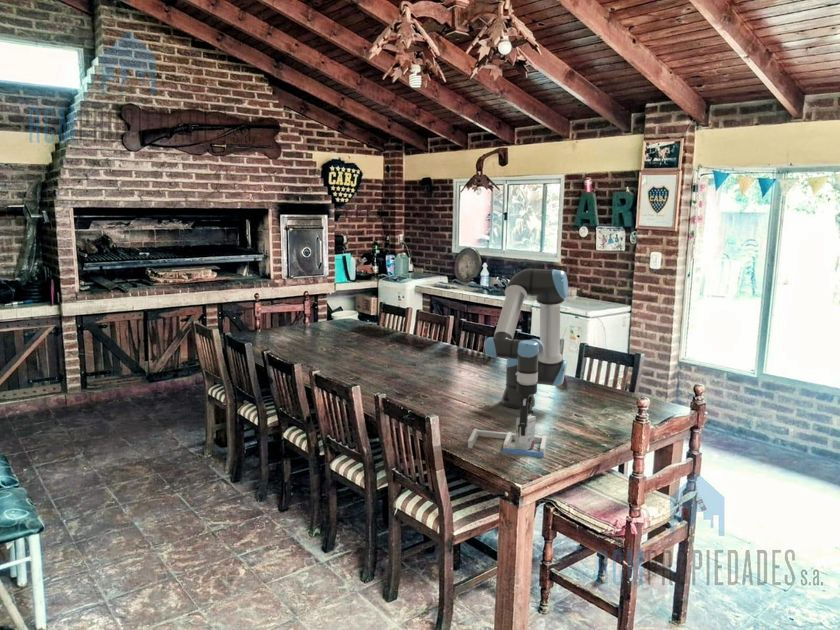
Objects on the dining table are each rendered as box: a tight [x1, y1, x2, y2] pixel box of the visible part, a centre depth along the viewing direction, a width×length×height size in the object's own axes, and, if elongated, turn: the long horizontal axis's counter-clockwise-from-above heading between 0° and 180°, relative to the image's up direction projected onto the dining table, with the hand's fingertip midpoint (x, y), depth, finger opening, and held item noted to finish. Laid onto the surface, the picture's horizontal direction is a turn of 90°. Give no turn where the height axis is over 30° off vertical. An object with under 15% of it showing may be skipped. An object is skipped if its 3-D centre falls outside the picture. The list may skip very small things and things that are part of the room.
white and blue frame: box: [467, 428, 548, 458], centre depth 247 cm, size 15×28×3 cm, turn 74°
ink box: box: [514, 415, 537, 451], centre depth 242 cm, size 9×5×12 cm, turn 149°
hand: (525, 436), depth 242 cm, fingers open, 13 cm apart
